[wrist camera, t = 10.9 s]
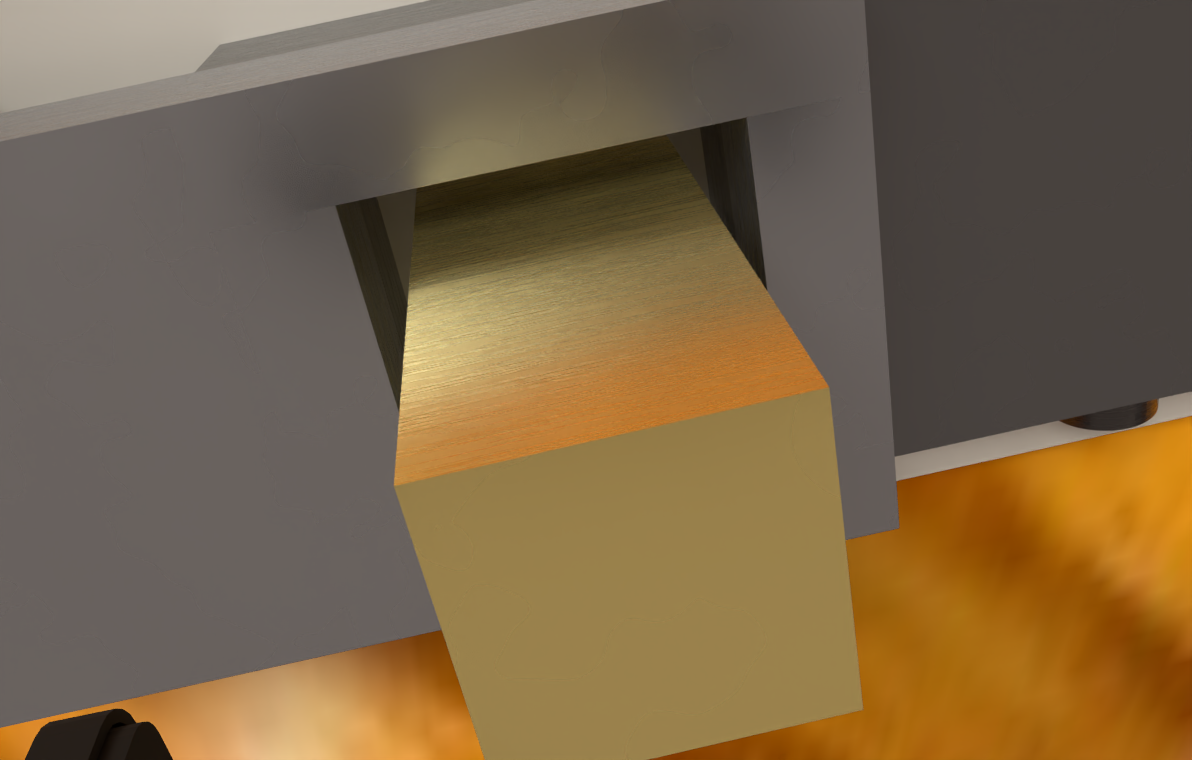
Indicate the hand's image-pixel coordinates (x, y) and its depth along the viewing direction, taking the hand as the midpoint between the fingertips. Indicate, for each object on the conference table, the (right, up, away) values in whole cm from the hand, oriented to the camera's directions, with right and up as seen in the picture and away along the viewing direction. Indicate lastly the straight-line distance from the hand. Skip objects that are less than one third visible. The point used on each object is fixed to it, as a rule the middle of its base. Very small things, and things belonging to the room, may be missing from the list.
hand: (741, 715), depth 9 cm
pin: (-2, +5, +11) cm, 12 cm away
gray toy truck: (-2, +5, +11) cm, 13 cm away
